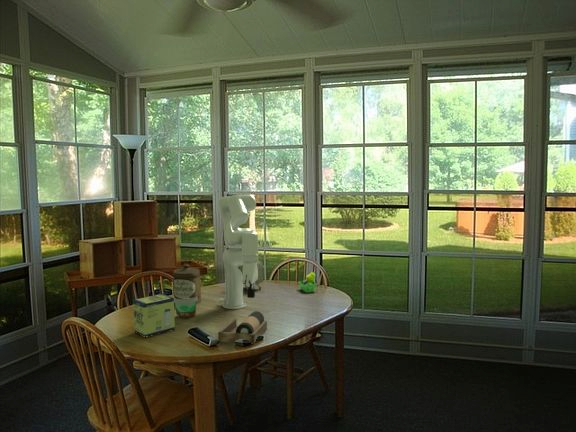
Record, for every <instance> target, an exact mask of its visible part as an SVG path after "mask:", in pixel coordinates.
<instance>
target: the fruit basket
mask: <svg viewBox="0 0 576 432" xmlns="http://www.w3.org/2000/svg"><path fill="white" fill-rule="evenodd" d="M305 278H306V279H304V280H299V281H298V283H299V285H300V289H301V290H302V291H303V292H305V293H314V292H315V289H316V285H317V283H316V282H315V280H316V274H315V272H314V271H311V272H310V273H309V274H308V275H306V277H305Z"/></svg>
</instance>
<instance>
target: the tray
mask: <svg viewBox="0 0 576 432" xmlns="http://www.w3.org/2000/svg"><path fill="white" fill-rule="evenodd" d="M237 323H238V322H237V318H233V319H232V320H231V321H230V322H229V323H228V324H226V325H225V326H224V327H223V328H222V329H221V330H219V331H218V332H217V336H218V337H217V340H218V341H219V342H220V343H233V344H235V343H234V342H235V341H236V340H239V339H246V340H248V341H249V342H251V344H250V345H255V344H256V343H255V342H257V341H256V339H257V337H258V336H260V335H262V336H263V334H264V333H265V332H266V331H267V329H268V320H264V321H263V323H262V324H261V325H260V326H259V327H258V328H257V329H256V330H255V331H254V332H253V333H252V334H245V333H236V329H237V327H238V326H239V325H238V324H237ZM237 325H238V326H237ZM219 342H218V343H219Z"/></svg>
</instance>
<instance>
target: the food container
mask: <svg viewBox="0 0 576 432" xmlns="http://www.w3.org/2000/svg"><path fill="white" fill-rule="evenodd" d="M173 298H174V297H173ZM197 301H198V297H197V296H196V297H195V298H181V299H176V298H174V308H175V313H176V318H178V319H182V320H183V319H185V320H186V319H191V318H194V317H196V313H197V304H196V302H197Z"/></svg>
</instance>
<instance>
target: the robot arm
mask: <svg viewBox="0 0 576 432" xmlns="http://www.w3.org/2000/svg"><path fill="white" fill-rule="evenodd" d="M256 207H257V201H256V198H255V196H254V195H253V194H250V193H249V194H245V193H244V194H233V195H227V196H222V197H220V198H219V199H218V200H217V208H218V212H219V215H220V217H221V221H222V227H223V238H224V239H223V240H224V243H225V245H226V246H228V247H235V248H228V249H225V250H224V251H223V252H222V262H223V267H224V286H225V287H224V289H225V290H224V291H225V295H224V296H225V297H219V298H218V302H219V303H223V304H222V307H223V308H224V309H227V310H228V309H229V310H238V309H243V308H245V307H246V306H247V303H246V302H245V301H244V285H246V287H245V288H246V289H247V290H246V292H247V293H246V295H247V298H249V299H254V298H256V297H255V296H256V293H255V291H256V289H255V288H256V285H255V281H257V279H258V268H257V262H258V261H259V235H258V233H257V231H255V230H253V229H251V228H247V227H240V226H243V225H244V224H246V222H248V220H249V212H251V211H254V210H255V209H256ZM236 247H237V248H236ZM238 247H239V248H238ZM238 266H243V270H242V272H241V271H240V270H239V269H238ZM245 283H246V284H245Z"/></svg>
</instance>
